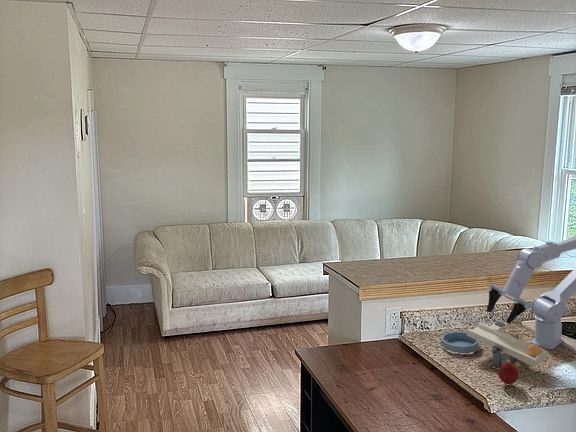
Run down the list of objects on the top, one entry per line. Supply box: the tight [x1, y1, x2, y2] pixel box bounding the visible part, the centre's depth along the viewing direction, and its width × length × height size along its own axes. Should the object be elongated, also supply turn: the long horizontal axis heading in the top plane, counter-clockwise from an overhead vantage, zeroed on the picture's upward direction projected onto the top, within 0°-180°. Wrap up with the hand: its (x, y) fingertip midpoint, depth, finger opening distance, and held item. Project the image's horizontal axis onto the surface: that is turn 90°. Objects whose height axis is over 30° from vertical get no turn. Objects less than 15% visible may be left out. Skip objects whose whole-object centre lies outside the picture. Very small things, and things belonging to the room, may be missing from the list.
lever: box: [466, 320, 549, 367], centre depth 189 cm, size 17×24×3 cm
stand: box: [489, 334, 520, 368], centre depth 186 cm, size 14×4×7 cm, turn 131°
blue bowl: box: [440, 330, 480, 353], centre depth 200 cm, size 12×12×3 cm
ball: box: [527, 343, 542, 357], centre depth 179 cm, size 4×4×4 cm
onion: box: [497, 360, 520, 385], centre depth 172 cm, size 6×6×8 cm
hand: (498, 317), depth 193 cm, fingers open, 7 cm apart
